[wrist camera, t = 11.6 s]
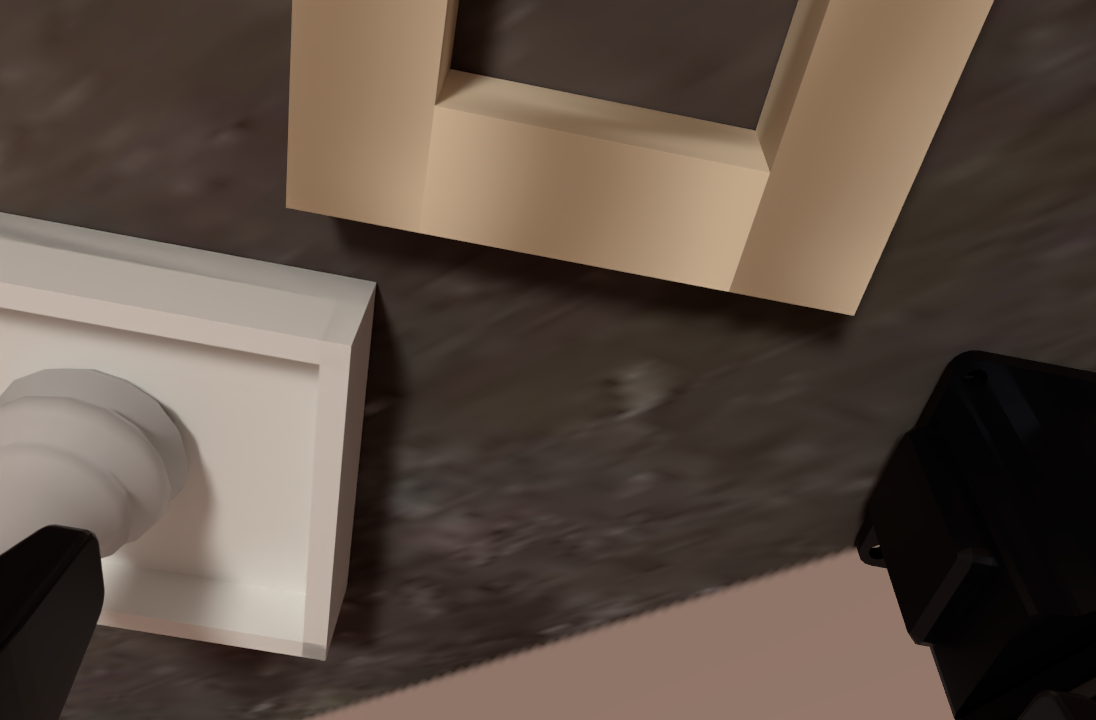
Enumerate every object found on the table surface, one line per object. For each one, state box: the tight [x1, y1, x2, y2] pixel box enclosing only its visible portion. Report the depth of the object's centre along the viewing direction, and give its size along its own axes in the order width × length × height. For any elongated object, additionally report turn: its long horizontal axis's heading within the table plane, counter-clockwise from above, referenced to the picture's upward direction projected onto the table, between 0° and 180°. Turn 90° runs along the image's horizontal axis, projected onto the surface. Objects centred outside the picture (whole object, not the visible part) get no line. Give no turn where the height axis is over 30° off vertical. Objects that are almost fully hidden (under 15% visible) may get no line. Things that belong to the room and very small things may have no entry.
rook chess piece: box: [0, 368, 189, 558], centre depth 19 cm, size 4×4×8 cm
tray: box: [0, 212, 376, 661], centre depth 22 cm, size 12×10×2 cm
